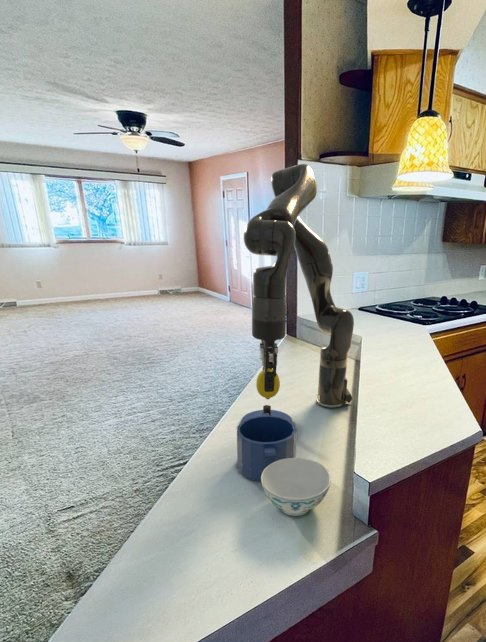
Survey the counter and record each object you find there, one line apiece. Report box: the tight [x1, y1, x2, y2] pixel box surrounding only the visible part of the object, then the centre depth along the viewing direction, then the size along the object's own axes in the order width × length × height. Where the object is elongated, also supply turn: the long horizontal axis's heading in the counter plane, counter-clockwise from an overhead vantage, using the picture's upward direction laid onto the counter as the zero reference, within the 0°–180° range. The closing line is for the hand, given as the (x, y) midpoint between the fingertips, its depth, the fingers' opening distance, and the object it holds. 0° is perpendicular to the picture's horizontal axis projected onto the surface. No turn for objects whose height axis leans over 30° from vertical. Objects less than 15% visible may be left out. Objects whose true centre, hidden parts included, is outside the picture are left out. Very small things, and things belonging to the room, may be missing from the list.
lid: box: [240, 404, 294, 423], centre depth 125 cm, size 16×16×6 cm
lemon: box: [255, 368, 281, 400], centre depth 97 cm, size 6×6×8 cm
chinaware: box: [260, 457, 332, 517], centre depth 90 cm, size 15×15×8 cm
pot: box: [236, 413, 298, 482], centre depth 103 cm, size 15×20×10 cm
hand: (268, 385), depth 97 cm, fingers closed on lemon, 5 cm apart
